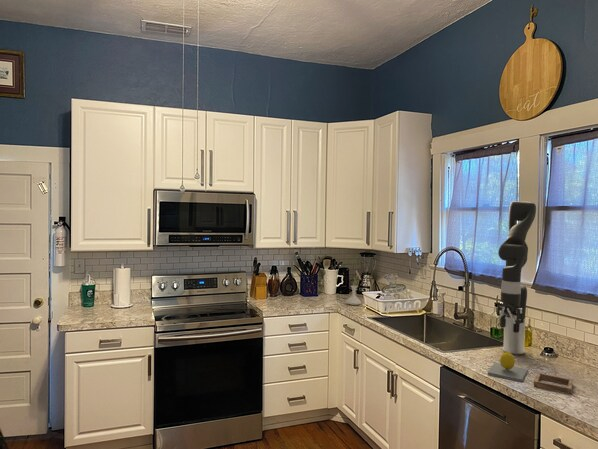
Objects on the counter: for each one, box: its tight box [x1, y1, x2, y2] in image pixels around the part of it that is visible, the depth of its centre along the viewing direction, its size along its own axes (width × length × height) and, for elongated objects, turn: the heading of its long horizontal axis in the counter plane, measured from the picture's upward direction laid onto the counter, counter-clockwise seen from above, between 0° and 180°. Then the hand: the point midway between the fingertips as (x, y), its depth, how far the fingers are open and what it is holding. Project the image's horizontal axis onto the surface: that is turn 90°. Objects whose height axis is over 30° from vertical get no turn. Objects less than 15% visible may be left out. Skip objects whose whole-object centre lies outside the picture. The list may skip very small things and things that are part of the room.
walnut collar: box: [533, 372, 574, 395], centre depth 172 cm, size 12×12×2 cm
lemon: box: [499, 351, 516, 370], centre depth 185 cm, size 6×6×8 cm
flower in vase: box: [345, 270, 362, 306], centre depth 324 cm, size 13×11×25 cm
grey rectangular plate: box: [487, 362, 529, 383], centre depth 185 cm, size 16×13×1 cm
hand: (509, 329), depth 185 cm, fingers open, 8 cm apart
